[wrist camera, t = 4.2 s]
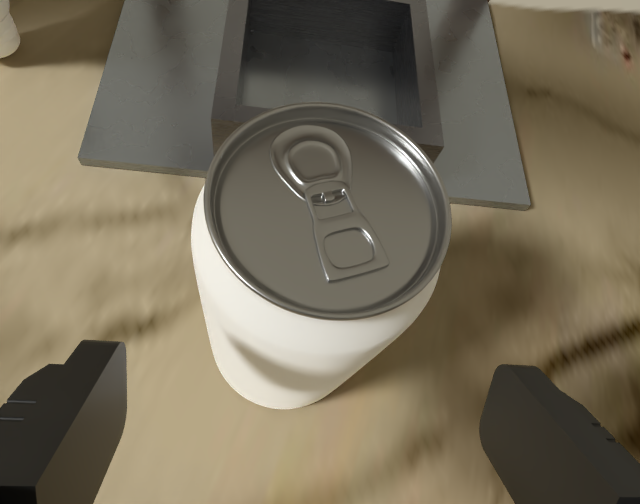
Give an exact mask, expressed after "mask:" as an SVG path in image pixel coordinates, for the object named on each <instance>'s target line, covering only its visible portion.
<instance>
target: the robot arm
mask: <svg viewBox="0 0 640 504" xmlns="http://www.w3.org/2000/svg"><path fill="white" fill-rule="evenodd" d="M126 412H127V373H126V347H125V344H124V342H115V341H97V340H83V341H81V342H80V344H79V345H78V346H77V348H76V349H75V350H74V352H73V353H72V354H71V356H70V357H69V358H68V360H67V361H66V362H65V364H64V365H62V364H48V365H47V366H45V367H44V368H42V369H40V370H39V371H37V372H36V373H34V374H32V375H31V376H29V377H28V378H26V379H24V380H23V381H22V383H21V384H20V385H19V386H18V387H17V389H16V390H15V391H14V392H13V393H12V395H11V396H10V397H9V398H8V399H7V403H6V404H5V403H4V404H3V405H2V406H1V408H0V504H93V502H94V500H95V498H96V495H97V493H98V491H99V488H100V486H101V484H102V481H103V479H104V477H105V474H106V472H107V470H108V467H109V465H110V463H111V460H112V458H113V456H114V453H115V451H116V448H117V446H118V444H119V441H120V439H121V436H122V433H123V429H124V425H125V420H126ZM479 432H480V440H481V444H482V447H483V449H484V451H485V453H486V455H487V456H488V458H489V460H490V461H491V463H492V465H493V467H494V468H495V470H496V472H497V473H498V475H499V477H500V479H501V480H502V482H503V484H504V485H505V487H506V489H507V491H508V492H509V494H510V496H511V497H512V499H513V501H514V503H515V504H640V464H639V463H638V462H637V461H636V460H635V459H634V458H633V456H632V455H631V454H630V453H629V452H628V451H627V450H626V449H625V448H624V447H623V446H622V445H621V444H620V443H616V442H615V438H614V437H613V436H612V435H611V434H610V433H609V432H608V431H607V430H606V429H605V428H604V427H601V426H600V423H599V422H598V421H597V420H596V419H595V418H594V416H593V415H592V414H591V413H590V412H589V411H588V410H587V409H586V408H585V407H584V406H583V405H581V404H580V403H578V402H577V401H575V400H574V399H572V398H571V397H569V396H568V395H566V394H565V393H563V392H562V391H560V390H559V389H558V388H557V387H556V386H555V385H554V384H553V383H552V382H551V380H550V379H549V378H548V377H547V376H546V375H545V374H544V373H543V372H542V371H541V370H540V369H539V368H537V367H536V366H526V365H508V364H502V365H499V366H498V367H497V369H496V370H495V372H494V375H493V379H492V382H491V386H490V389H489V392H488V396H487V399H486V402H485V406H484V409H483V413H482V416H481V420H480V426H479Z"/></svg>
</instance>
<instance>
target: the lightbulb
mask: <svg viewBox="0 0 640 504" xmlns="http://www.w3.org/2000/svg"><path fill="white" fill-rule="evenodd" d="M9 8H10V5H9V0H0V58H4V57H6V56H9V55H11V54H12V53H14V52H15V51H16V50H17V48H18V46H19V44H20V36H19V34H18V31H17V28H16V25H15V23H14V21H13V18H12V16H11V15H10V13H9Z"/></svg>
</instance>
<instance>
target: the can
mask: <svg viewBox="0 0 640 504" xmlns="http://www.w3.org/2000/svg"><path fill="white" fill-rule="evenodd" d="M451 227H452V218H451V208H450V202H449V198H448V194H447V191H446V188H445V185H444V183H443V181H442V178H441V176H440V174H439V173H438V171H437V169H436V167H435V166H434V164H433V163H432V161H431V160H430V159H429V157H428V156H427V155H426V153H425V152H424V151H423V150H422V149H421V148H420V147H419V146H418V145H417V144H416V143H415V142H414V141H413V140H412V139H411V138H410V137H409V136H408V135H406V134H405V133H404V132H403V131H401V130H400V129H398V128H397V127H396V126H394V125H393V124H391V123H389V122H388V121H386V120H384V119H382V118H380V117H378V116H376V115H374V114H371V113H369V112H366V111H364V110H361V109H358V108H354V107H350V106H346V105H342V104H336V103H327V102H302V103H294V104H288V105H284V106H280V107H276V108H273V109H270V110H268V111H265V112H263V113H261V114H259V115H257V116H255V117H253V118H251V119H250V120H248V121H247V122H245V123H244V124H242V125H241V126H240V127H238V128H237V129H236V130H235V131H234V132H233V133H232V134H231V135H230V136H229V137H228V138H227V139H226V140H225V141H224V143H223V144H222V145H221V146H220V148H219V149H218V151H217V153H216V154H215V156H214V158H213V160H212V162H211V165H210V167H209V170H208V173H207V176H206V181H205V184H204V186H203V188H202V190H201V192H200V194H199V197H198V199H197V202H196V206H195V209H194V213H193V219H192V230H191V246H192V255H193V262H194V268H195V273H196V279H197V284H198V289H199V293H200V298H201V303H202V308H203V312H204V317H205V321H206V326H207V330H208V335H209V339H210V343H211V348H212V351H213V355H214V358H215V361H216V364H217V366H218V368H219V370H220V372H221V374H222V375H223V377H224V378H225V380H226V381H227V382H228V383H229V385H230V386H231V387H232V388H233V389H234V390H235V391H236V392H238V393H239V394H240V395H241V396H243V397H244V398H246V399H248V400H249V401H251V402H253V403H256V404H258V405H261V406H264V407H268V408H274V409H294V408H299V407H303V406H307V405H310V404H312V403H314V402H317V401H319V400H320V399H322V398H324V397H325V396H327V395H328V394H329V393H331V392H332V391H333V390H335V389H336V388H337V387H339V386H340V385H341V384H342V383H344V382H345V381H346V380H347V379H349V378H350V377H351V376H352V375H353V374H355V373H356V372H357V371H358V370H360V369H361V368H362V367H363V366H364V365H366V364H367V363H368V362H369V361H370V360H372V359H373V358H374V357H375V356H376V355H378V354H379V353H380V352H381V351H382V350H384V349H385V348H386V347H387V346H388V345H389V344H391V343H392V342H393V341H394V340H395V339H396V338H398V337H399V336H400V335H401V334H402V333H403V332H404V331H405V330H406V329H407V328H408V327H409V326H410V325H411V324H412V323H413V322H414V321H415V320H416V318H417V317H418V316H419V314H420V313H421V312H422V310H423V309H424V307H425V306H426V304H427V303H428V301H429V299H430V297H431V295H432V293H433V291H434V289H435V286H436V283H437V280H438V277H439V272H440V266H441V265H442V262H443V260H444V258H445V256H446V253H447V250H448V246H449V242H450V237H451Z"/></svg>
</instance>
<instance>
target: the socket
mask: <svg viewBox="0 0 640 504" xmlns="http://www.w3.org/2000/svg"><path fill="white" fill-rule="evenodd" d="M302 102H327V103H336V104H342V105H346V106H350V107H354V108H358V109H361V110H364V111H366V112H369V113H371V114H374V115H376V116H378V117H380V118H382V119H384V120H386V121H388V122H389V123H391V124H393V125H394V126H396V127H397V128H398V129H400V130H401V131H403V132H404V133H405V134H406V135H408V136H409V137H410V138H411V139H412V140H413V141H414V142H415V143H416V144H417V145H418V146H419V147H420V148H421V149H422V150H423V151H424V152H425V153H426V155H427V156H428V157H429V159H430V160H431V161H432V163H433V164H434V166H435V167H436V169H437V171H438V173H439V174H440V176H441V178H442V181H443V183H444V185H445V188H446V191H447V194H448V198H449V202H450V203H457V204H466V205H476V206H486V207H495V208H505V209H515V210H524V211H525V210H526V209H527V208H528V207H529V206H531V203H530V199H529V194H528V189H527V185H526V180H525V175H524V170H523V166H522V161H521V156H520V152H519V147H518V142H517V137H516V133H515V128H514V123H513V119H512V114H511V109H510V105H509V100H508V95H507V90H506V86H505V81H504V76H503V72H502V67H501V62H500V58H499V53H498V48H497V43H496V39H495V34H494V29H493V25H492V20H491V15H490V11H489V6H488V1H487V0H125V1H124V5H123V8H122V11H121V15H120V18H119V21H118V25H117V28H116V31H115V35H114V38H113V41H112V45H111V48H110V51H109V55H108V58H107V61H106V65H105V68H104V71H103V75H102V78H101V81H100V85H99V88H98V91H97V95H96V98H95V101H94V105H93V108H92V111H91V115H90V118H89V121H88V125H87V128H86V131H85V135H84V138H83V141H82V145H81V148H80V151H79V155H78V159H79V161H80V163H81V165H88V166H98V167H108V168H117V169H127V170H137V171H146V172H156V173H166V174H175V175H185V176H195V177H205V178H206V176H207V173H208V170H209V167H210V165H211V162H212V160H213V158H214V156H215V154H216V153H217V151H218V149H219V148H220V146H221V145H222V144H223V143H224V141H225V140H226V139H227V138H228V137H229V136H230V135H231V134H232V133H233V132H234V131H235V130H236V129H237V128H238V127H240V126H241V125H242V124H244V123H245V122H247V121H248V120H250V119H251V118H253V117H255V116H257V115H259V114H261V113H263V112H265V111H268V110H270V109H273V108H276V107H280V106H284V105H288V104H294V103H302Z"/></svg>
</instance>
